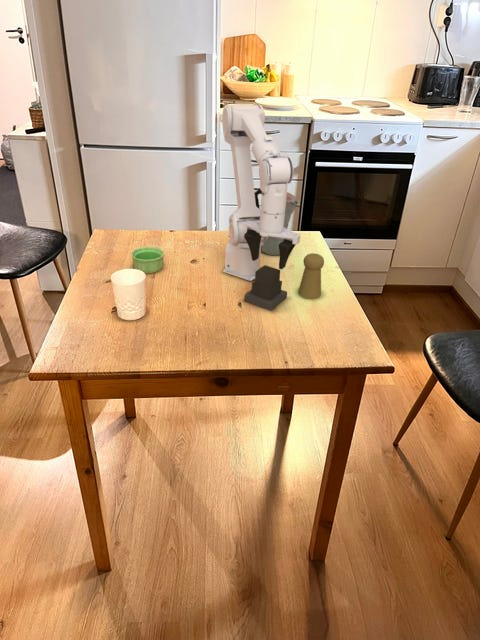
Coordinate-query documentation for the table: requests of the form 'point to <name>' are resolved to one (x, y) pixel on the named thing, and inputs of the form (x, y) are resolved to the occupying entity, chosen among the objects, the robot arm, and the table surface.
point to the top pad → (267, 276)
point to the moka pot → (273, 243)
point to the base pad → (264, 302)
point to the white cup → (129, 293)
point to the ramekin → (148, 259)
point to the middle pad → (266, 290)
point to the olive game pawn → (311, 277)
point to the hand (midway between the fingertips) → (268, 263)
